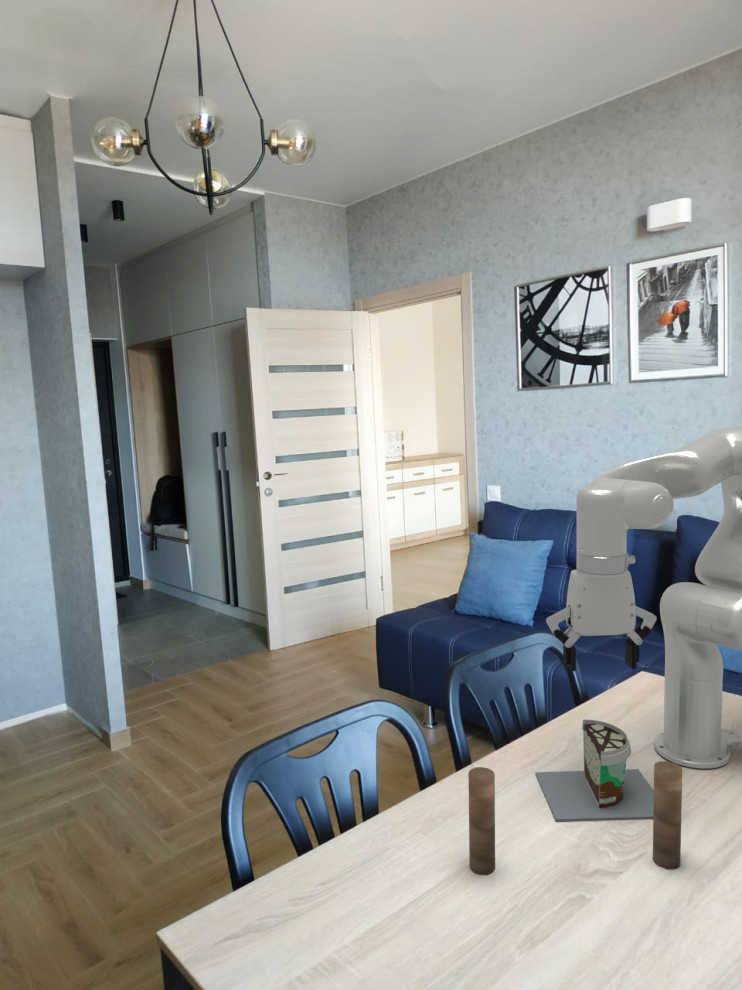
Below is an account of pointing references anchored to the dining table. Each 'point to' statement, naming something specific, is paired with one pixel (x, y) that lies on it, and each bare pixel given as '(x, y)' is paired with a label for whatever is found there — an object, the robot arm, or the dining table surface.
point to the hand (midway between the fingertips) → (600, 667)
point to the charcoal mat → (578, 804)
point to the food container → (605, 761)
